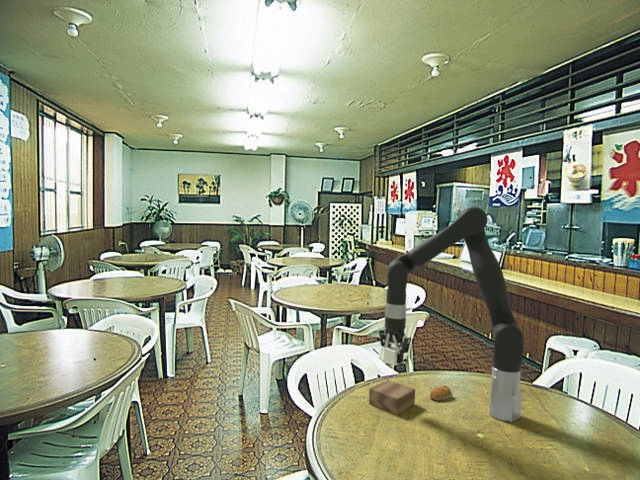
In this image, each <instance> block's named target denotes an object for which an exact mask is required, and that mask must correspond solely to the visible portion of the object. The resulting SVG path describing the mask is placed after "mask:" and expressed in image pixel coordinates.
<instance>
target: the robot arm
mask: <svg viewBox="0 0 640 480" xmlns="http://www.w3.org/2000/svg"><path fill="white" fill-rule="evenodd" d="M487 223H488V215H487V213H486V211H484V210H483V209H482V208H480V207H476V206H475V207H473V206H471V207H467V208H465V209H462V210H461V211H460V212H459V213H458V215H457V219H455V220H454V221H453V222H452V223H451V224H449V225H448V226H447V227H446V228H445V227H444V229H441V231H439V232H438V233H435V234H434V235H432V236H430V237H428V238H427V239H425V240H423V241H422V242H420V243H419V244H417V245H416V246H414V247H412V248H411V249H410V250H408V252H405V253H404V254H402V255H400V256H398V257H397V258H395V259H393V260H392V261H391V262H389V263H388V266H387V271H386V272H387V290H386V297H385V298H386V301H385V302H386V303H385V310H384V328H385V329H379V331H378V333H379V341H380V346H381V347H383V348H387V347H391V346H393V344H394V346H395V347H396V348H397V353H398V354H397V363H398V365H401V364H403V363H404V361H403V354H404V355H405V354H407V353H409V350H410V347H411V342H412V337H411V336H409V337H408V336H406V333H405V331H406V327H407V326H406V324H407V323H406V322H407V285H408V276H409V275H408V274H409V273H410V272H412V271H413V270H415V269H417V268H422V267H423V266H425V265H426V264H427V263H429V262H430V261H432V260H433V259H435V258H436V257H437V256H439V255H441V254H442V253H443V252H445V251H446V250H447V249H449V248H450V247H451V246H453V245H455V244H457V243H458V242H460V241H462V240H464V242H465V245H466V247H467V250H468V255H469V260H470V263H471V268H472V272H473V275H474V278H475V282H476V284H477V288H478V290H479V292H480V295H481V297H482V300H483V302H484V304H485V306H486V308H487V310H488V314H489V318H490V322H491V328H492V334H493V338H494V343H493V344H494V345H493V356H492V362H491V364H492V365H491V377H490V394H489V395H490V396H489V397H490V398H489V399H490V400H489V414H490V416H492V417H493V418H495V419H497V420H500V421H504V422H509V423H514V422H515V421H518V420H519V419H521V413H522V398H523V397H522V395H523V392H522V391H521V390H520V387H521V372H522V371H521V369H522V364H523V357H524V344H525V336H524V334H523V332H522V330H521V329H520V327H519V325H518V323H517V322H516V319H515V316H514V315H513V314H514V313H513V312H512V310H511V307H510V306H511V305H510V303H509V295H508V288H507V284H506V280H505V276H504V273H503V271H502V267H501V265H500V263H499V261H498V258H497V257H496V255H495V253H494V251H493V250H492V248H491V246H490V244H489V241H488V239H487V234H486V231H485V228H486V226H487ZM400 349H401V350H400ZM402 362H403V363H402Z"/></svg>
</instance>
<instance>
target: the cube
mask: <svg viewBox="0 0 640 480" xmlns="http://www.w3.org/2000/svg"><path fill="white" fill-rule="evenodd" d="M383 348H384V347H383ZM400 350H401V349H400ZM383 353H384V354H383V362H384V363H386V364H389V365H391V366H394V367H395V366H398V365H399V364H398V363H397V354H398V353H397V348H396V347H395V345H392V346H391V347H387V348H384V349H383ZM404 358H405V353H404V354H403V362H402V363H401V364H404Z"/></svg>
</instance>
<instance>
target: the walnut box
mask: <svg viewBox="0 0 640 480" xmlns="http://www.w3.org/2000/svg"><path fill="white" fill-rule="evenodd" d="M368 391H369V392H368V393H369V395H368V397H369V398H368V404H369V405H372V406H374V407H376V408H379V409H380V410H383V411H386V412H389V413H391V414H394V415H396V416H397V415H399V414H401V413H402V412H404V411H406V410H407V409H409V408H411V407H412V406H414V405H415V404H416V388H413V387H409V386H406V385H404V384H401V383H398V382H395V381H393V380H389V379H388V380H385V381H383V382H380V383H378V384H376V385H374V386H372V387H370V388H369V390H368Z"/></svg>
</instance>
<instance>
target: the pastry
mask: <svg viewBox="0 0 640 480" xmlns="http://www.w3.org/2000/svg"><path fill="white" fill-rule="evenodd" d="M429 396H430V397H429V398H430V399H432V400H434V401H438V402H439V401H446V400H448V399H451V398H452V396H453V393H452V391H451V387H449V386H447V385H445V384H444V385H439V386H437V387H434V388H433V389H432V390H431V391H430V394H429Z"/></svg>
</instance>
